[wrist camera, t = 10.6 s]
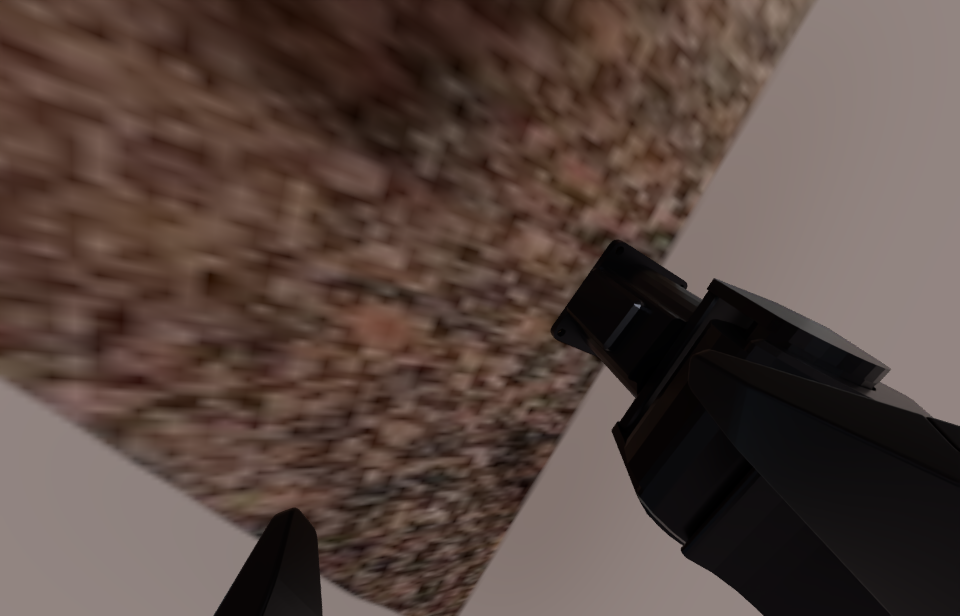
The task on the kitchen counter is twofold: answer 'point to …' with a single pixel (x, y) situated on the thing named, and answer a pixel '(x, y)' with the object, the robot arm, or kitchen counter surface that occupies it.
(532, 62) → the kitchen counter surface
